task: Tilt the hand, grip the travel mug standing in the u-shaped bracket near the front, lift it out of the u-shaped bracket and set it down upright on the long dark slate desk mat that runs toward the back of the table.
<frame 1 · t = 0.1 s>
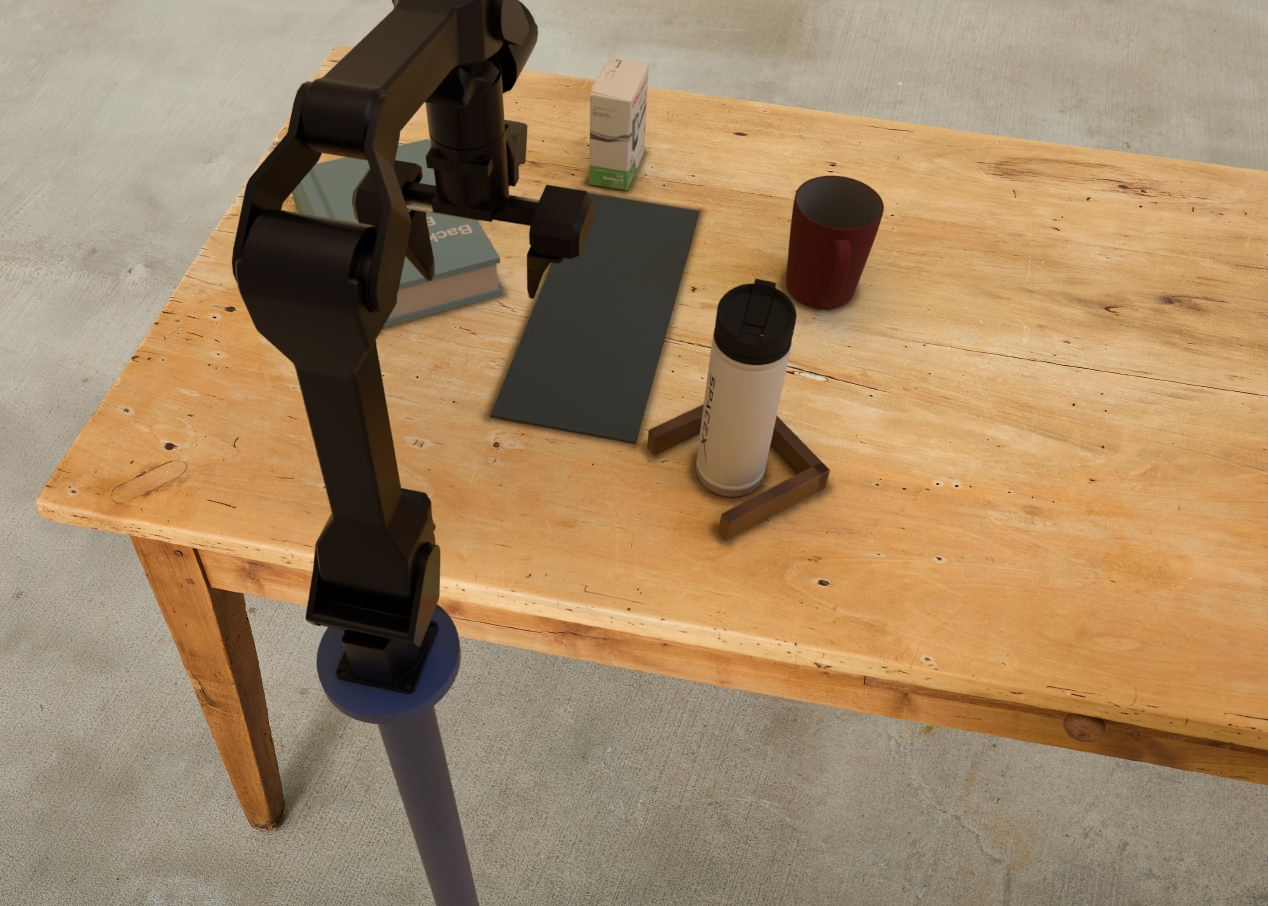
hand: (481, 286, 92), 13 cm above the table, tool pointing down, fingers open, 9 cm apart
desk mat: (605, 305, 110), on the table
travel mug: (729, 471, 96), on the table
mug: (820, 297, 112), on the table
book: (395, 251, 115), on the table
u-shaped bracket: (729, 469, 96), on the table
ink box: (616, 169, 126), on the table
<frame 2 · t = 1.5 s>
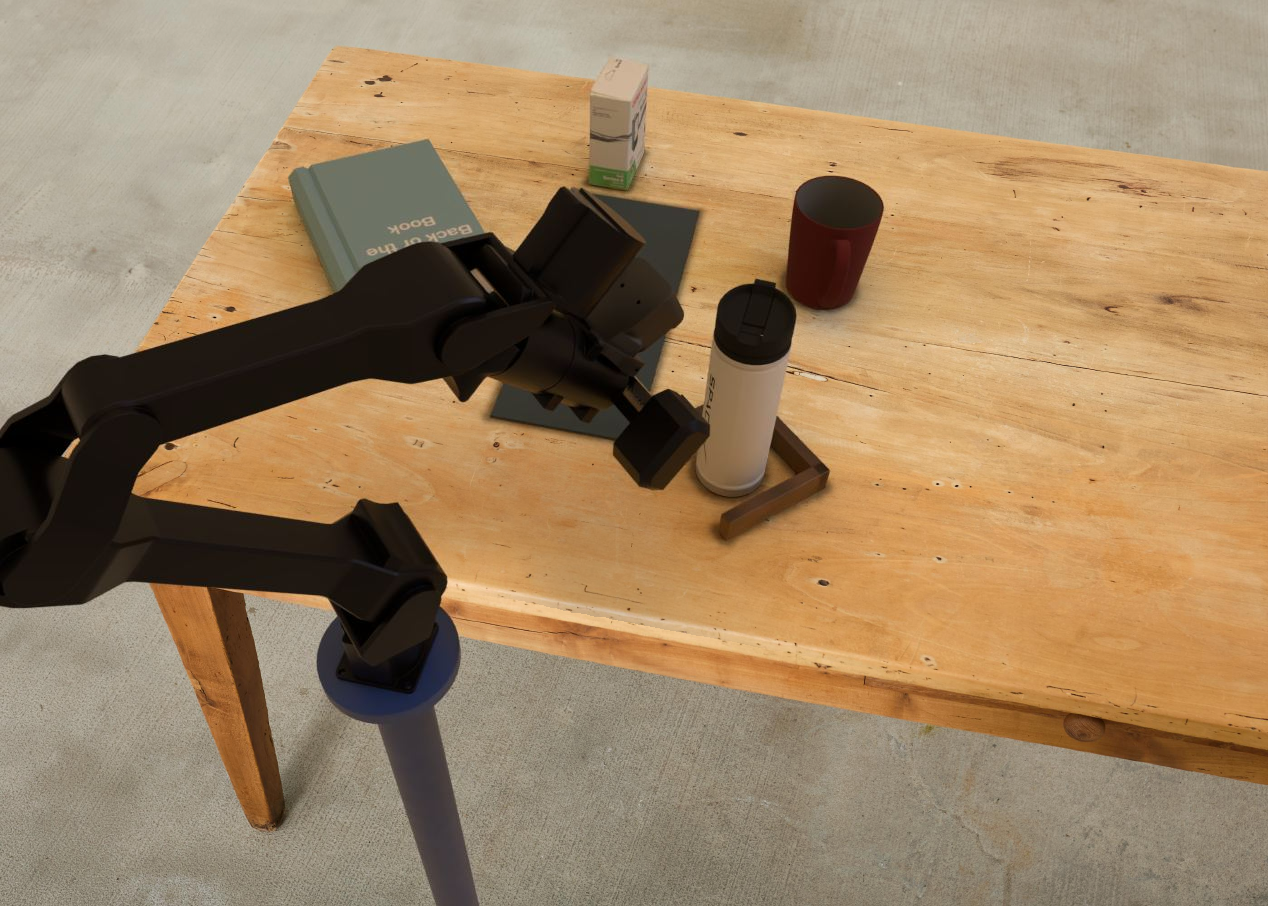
hand: (666, 401, 83), 13 cm above the table, tool tilted 45°, fingers open, 9 cm apart
nothing on the table moved.
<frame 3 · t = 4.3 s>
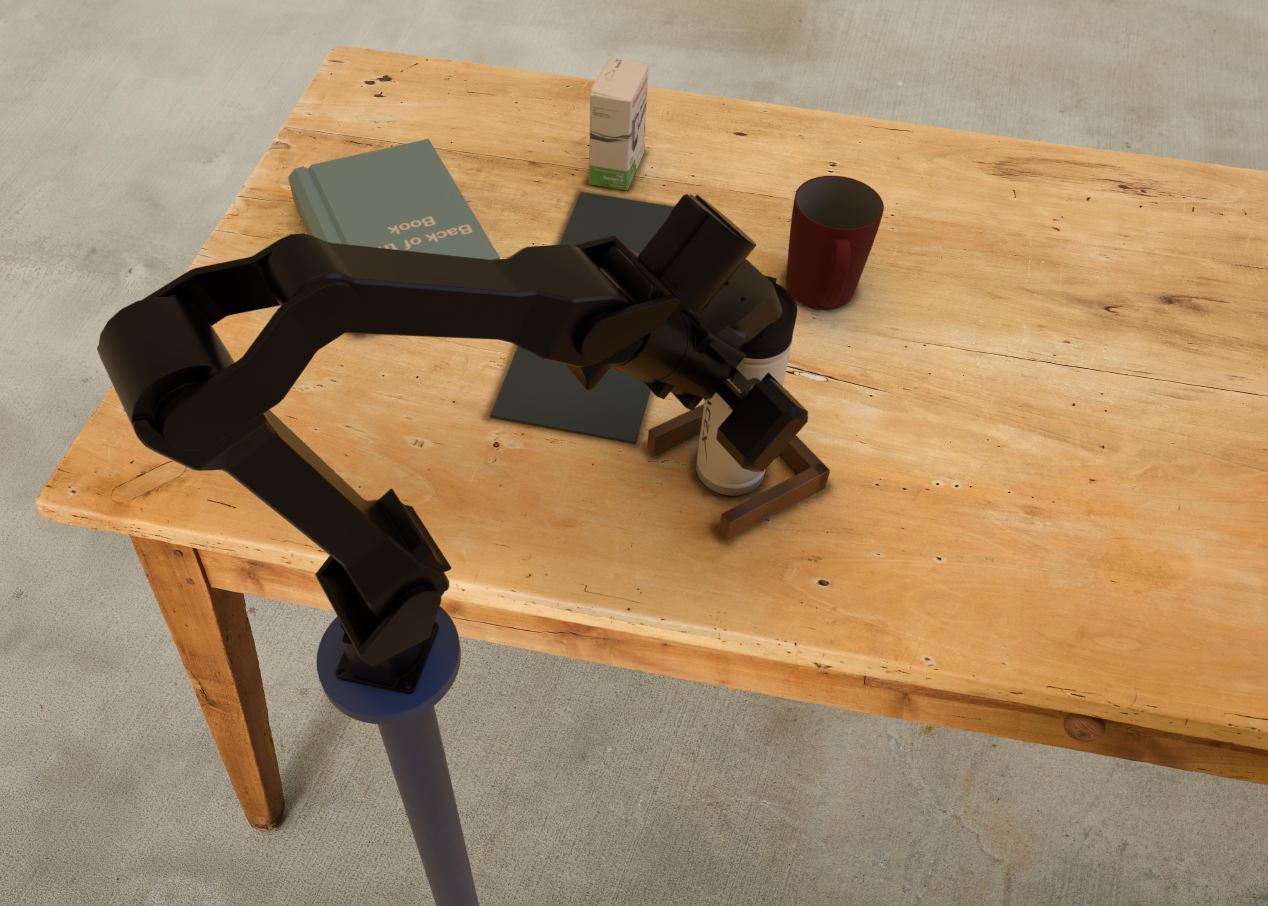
hand: (755, 390, 90), 10 cm above the table, tool tilted 45°, fingers closed on travel mug, 6 cm apart
travel mug: (730, 470, 96), on the table, touching gripper
everything else where it was.
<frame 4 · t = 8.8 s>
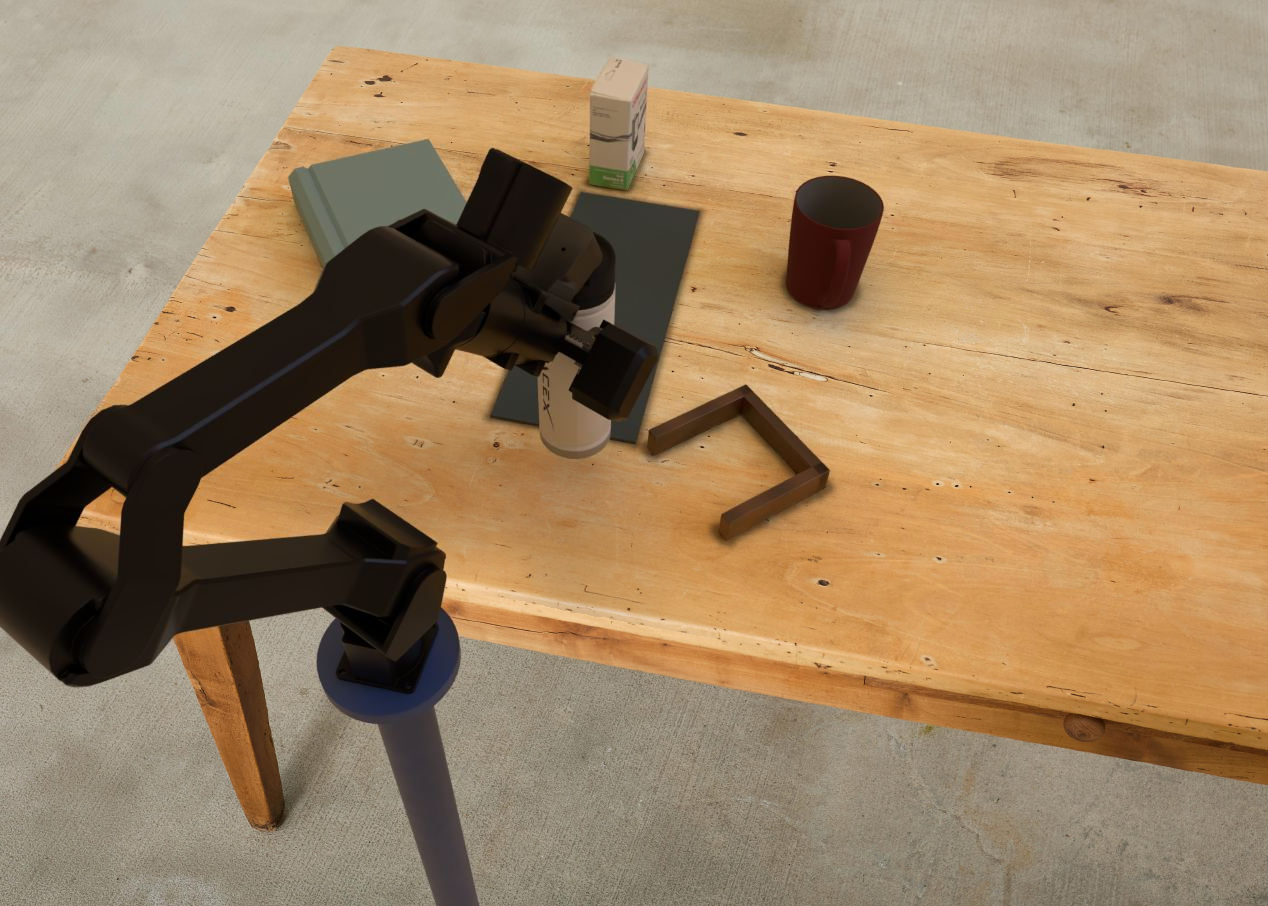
hand: (585, 345, 87), 13 cm above the table, tool tilted 45°, fingers closed on travel mug, 6 cm apart
travel mug: (575, 434, 94), point 4 cm above the table, touching gripper
everything else where it was.
when the fingers open (10 cm above the table, at t = 13.3 s): travel mug stays where it is, resting on desk mat.
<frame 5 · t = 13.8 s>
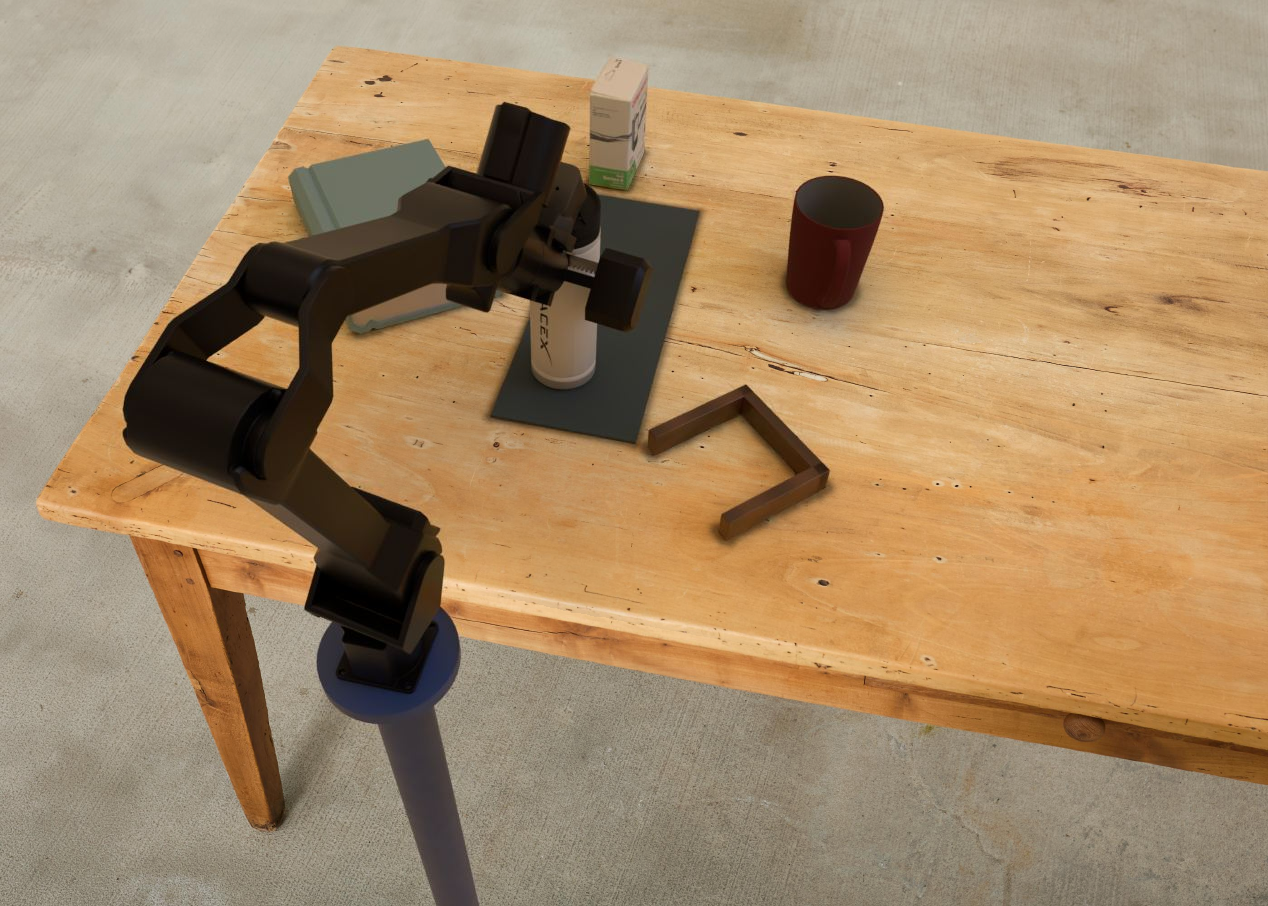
hand: (567, 279, 97), 10 cm above the table, tool tilted 45°, fingers open, 9 cm apart
travel mug: (562, 368, 104), resting on desk mat, touching gripper
everything else where it was.
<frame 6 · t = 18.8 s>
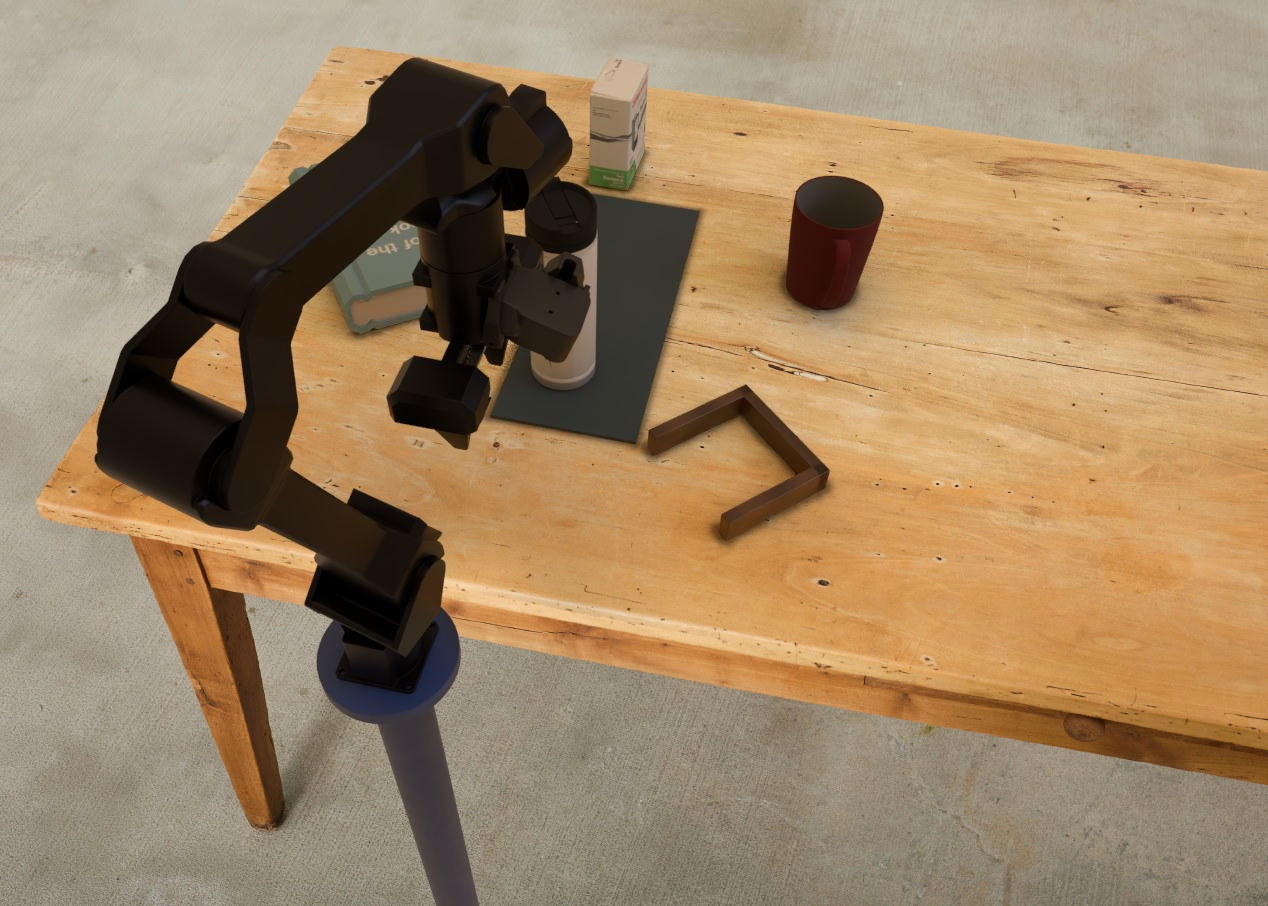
hand: (479, 404, 83), 13 cm above the table, tool pointing down, fingers open, 9 cm apart
travel mug: (562, 369, 104), resting on desk mat
everything else where it was.
at the end: travel mug inside the target area on the desk mat (1.9 cm from its centre), point 0.1 cm above the desk mat's base; travel mug tilted 0°; the gripper is holding nothing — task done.
